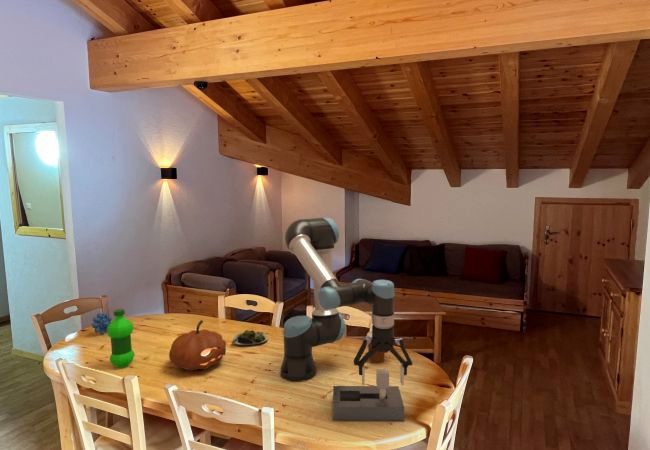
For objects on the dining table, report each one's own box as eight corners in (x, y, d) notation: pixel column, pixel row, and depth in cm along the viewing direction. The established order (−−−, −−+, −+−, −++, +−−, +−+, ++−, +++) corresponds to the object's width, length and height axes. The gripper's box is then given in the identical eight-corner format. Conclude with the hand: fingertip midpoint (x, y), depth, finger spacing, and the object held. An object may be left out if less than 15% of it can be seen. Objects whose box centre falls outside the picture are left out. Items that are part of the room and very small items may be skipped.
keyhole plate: (332, 420, 141) (332, 406, 140) (333, 398, 155) (333, 385, 154) (404, 421, 140) (404, 407, 139) (398, 399, 154) (398, 386, 153)
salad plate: (231, 334, 220) (231, 326, 220) (265, 331, 224) (265, 323, 223) (231, 349, 201) (231, 340, 201) (268, 345, 205) (268, 336, 205)
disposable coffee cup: (386, 365, 181) (386, 339, 180) (364, 363, 183) (364, 337, 182) (387, 356, 191) (388, 331, 189) (367, 354, 192) (367, 329, 191)
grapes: (98, 339, 215) (96, 316, 213) (89, 337, 218) (88, 315, 216) (118, 331, 225) (116, 310, 224) (109, 329, 228) (107, 308, 227)
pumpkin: (213, 379, 170) (211, 335, 168) (157, 375, 174) (155, 332, 172) (236, 354, 195) (234, 315, 193) (186, 351, 199) (184, 313, 197)
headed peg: (376, 413, 145) (376, 375, 143) (374, 405, 150) (374, 368, 148) (390, 413, 145) (390, 375, 143) (388, 405, 150) (388, 368, 148)
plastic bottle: (104, 368, 182) (100, 313, 179) (123, 358, 191) (119, 305, 189) (122, 371, 178) (118, 315, 175) (140, 361, 188) (137, 308, 185)
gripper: (347, 329, 140) (347, 388, 143) (421, 329, 140) (420, 389, 142) (346, 321, 148) (346, 378, 150) (417, 321, 147) (416, 378, 149)
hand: (382, 383), depth 146 cm, fingers open, 13 cm apart
